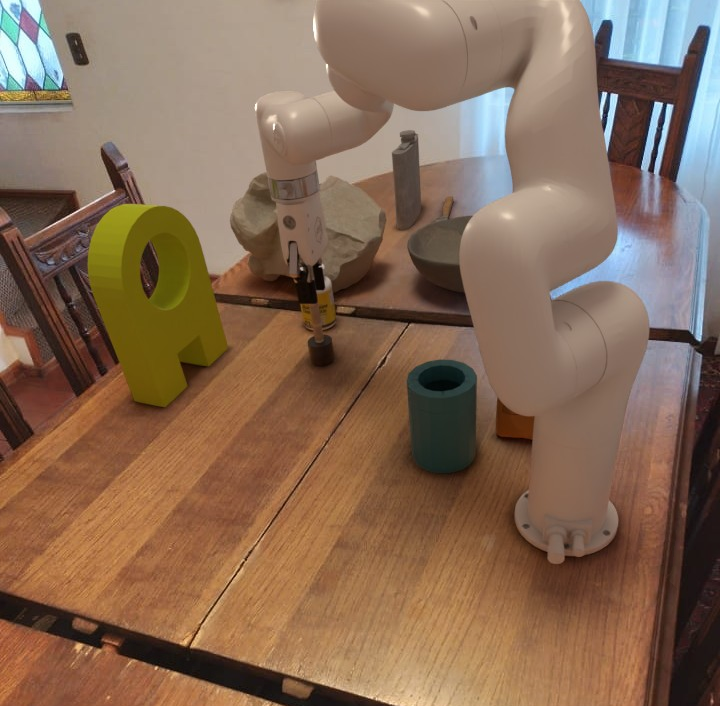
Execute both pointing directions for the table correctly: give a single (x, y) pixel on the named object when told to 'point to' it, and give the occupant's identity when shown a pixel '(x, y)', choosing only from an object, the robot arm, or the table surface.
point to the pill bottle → (321, 306)
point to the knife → (446, 209)
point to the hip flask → (407, 180)
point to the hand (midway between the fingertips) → (312, 295)
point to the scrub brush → (319, 338)
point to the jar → (442, 415)
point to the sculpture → (343, 224)
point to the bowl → (439, 252)
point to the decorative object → (154, 299)
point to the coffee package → (513, 422)
